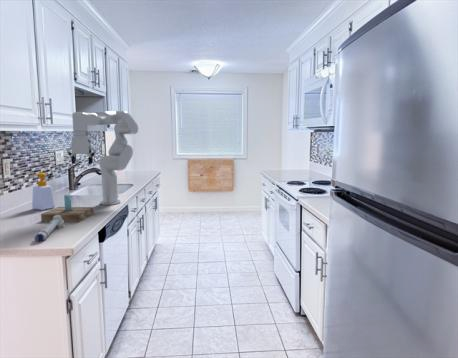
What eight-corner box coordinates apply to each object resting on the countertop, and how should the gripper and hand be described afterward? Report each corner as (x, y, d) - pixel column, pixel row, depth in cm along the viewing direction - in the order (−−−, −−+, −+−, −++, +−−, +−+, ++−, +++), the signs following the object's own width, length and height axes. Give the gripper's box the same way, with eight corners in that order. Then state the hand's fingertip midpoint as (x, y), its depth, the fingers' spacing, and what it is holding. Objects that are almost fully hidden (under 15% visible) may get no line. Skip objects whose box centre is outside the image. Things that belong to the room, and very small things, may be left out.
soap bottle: (24, 210, 189) (21, 173, 186) (45, 206, 202) (43, 171, 199) (35, 212, 186) (32, 174, 183) (56, 207, 198) (53, 172, 195)
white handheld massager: (31, 234, 134) (53, 212, 158) (34, 248, 136) (54, 224, 160) (45, 233, 135) (64, 211, 159) (47, 247, 137) (66, 224, 160)
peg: (67, 216, 177) (66, 194, 175) (73, 216, 176) (71, 194, 175) (64, 217, 173) (62, 195, 172) (70, 217, 173) (68, 195, 172)
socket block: (59, 213, 184) (58, 206, 183) (93, 214, 183) (93, 207, 183) (41, 221, 167) (40, 214, 166) (79, 222, 166) (78, 214, 166)
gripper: (98, 134, 187) (99, 163, 189) (69, 134, 187) (70, 163, 189) (92, 134, 179) (94, 164, 182) (62, 134, 180) (64, 164, 182)
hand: (82, 163), depth 185 cm, fingers open, 9 cm apart
